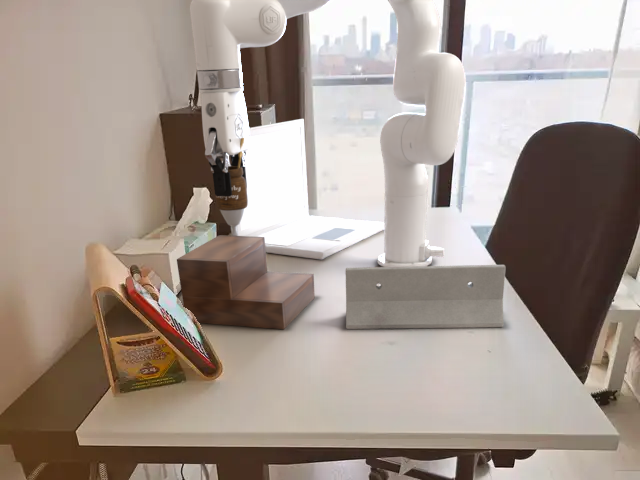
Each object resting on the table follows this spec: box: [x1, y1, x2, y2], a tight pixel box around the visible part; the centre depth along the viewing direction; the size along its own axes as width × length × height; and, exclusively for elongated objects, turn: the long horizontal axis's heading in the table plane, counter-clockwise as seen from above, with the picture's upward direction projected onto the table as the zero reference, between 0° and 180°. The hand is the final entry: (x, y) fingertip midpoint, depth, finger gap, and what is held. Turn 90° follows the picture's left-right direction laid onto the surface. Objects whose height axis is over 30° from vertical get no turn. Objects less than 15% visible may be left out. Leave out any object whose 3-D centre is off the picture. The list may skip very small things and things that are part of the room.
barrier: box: [345, 264, 507, 330], centre depth 116 cm, size 28×7×10 cm, turn 86°
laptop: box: [228, 118, 384, 260], centre depth 169 cm, size 34×28×28 cm
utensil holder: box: [214, 137, 248, 211], centre depth 118 cm, size 6×6×12 cm
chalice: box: [219, 208, 245, 236], centre depth 154 cm, size 7×7×18 cm
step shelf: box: [176, 234, 316, 330], centre depth 125 cm, size 20×18×12 cm
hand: (231, 191), depth 120 cm, fingers closed on utensil holder, 6 cm apart
